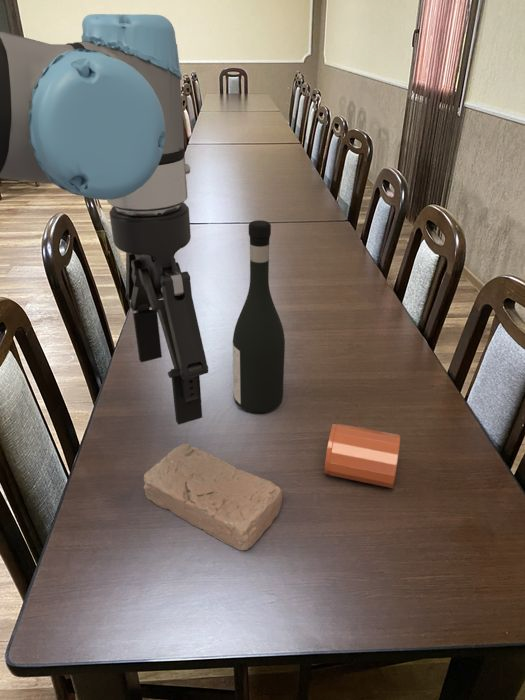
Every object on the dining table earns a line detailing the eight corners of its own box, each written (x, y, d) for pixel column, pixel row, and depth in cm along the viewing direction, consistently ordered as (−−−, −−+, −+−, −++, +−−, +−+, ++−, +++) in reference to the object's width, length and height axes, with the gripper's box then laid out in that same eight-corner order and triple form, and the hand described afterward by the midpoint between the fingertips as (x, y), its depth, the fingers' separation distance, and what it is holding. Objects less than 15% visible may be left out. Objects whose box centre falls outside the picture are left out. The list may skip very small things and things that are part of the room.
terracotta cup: (322, 473, 69) (393, 487, 67) (332, 419, 71) (401, 432, 69) (326, 475, 76) (391, 488, 74) (335, 426, 77) (398, 438, 75)
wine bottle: (226, 410, 86) (221, 228, 71) (243, 383, 93) (242, 211, 77) (274, 420, 84) (279, 235, 69) (288, 392, 90) (296, 217, 75)
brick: (141, 499, 70) (137, 472, 67) (184, 462, 76) (181, 436, 73) (246, 560, 62) (246, 532, 60) (284, 513, 68) (285, 486, 66)
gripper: (240, 238, 43) (244, 439, 54) (148, 172, 62) (164, 332, 73) (150, 253, 40) (173, 463, 51) (82, 179, 59) (109, 344, 70)
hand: (168, 386), depth 62 cm, fingers open, 13 cm apart
